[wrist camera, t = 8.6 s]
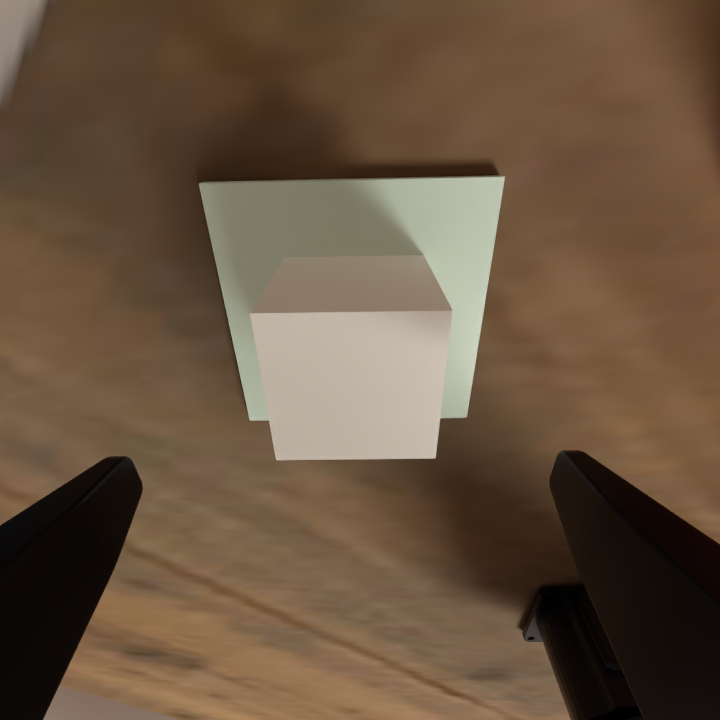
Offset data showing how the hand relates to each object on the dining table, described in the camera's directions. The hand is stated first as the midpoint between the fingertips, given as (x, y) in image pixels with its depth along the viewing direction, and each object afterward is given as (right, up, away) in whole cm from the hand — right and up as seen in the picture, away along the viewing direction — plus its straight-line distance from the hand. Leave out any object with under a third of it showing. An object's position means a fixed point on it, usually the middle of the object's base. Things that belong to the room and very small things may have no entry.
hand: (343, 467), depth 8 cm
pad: (0, +4, +7) cm, 8 cm away
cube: (0, +4, +7) cm, 8 cm away
